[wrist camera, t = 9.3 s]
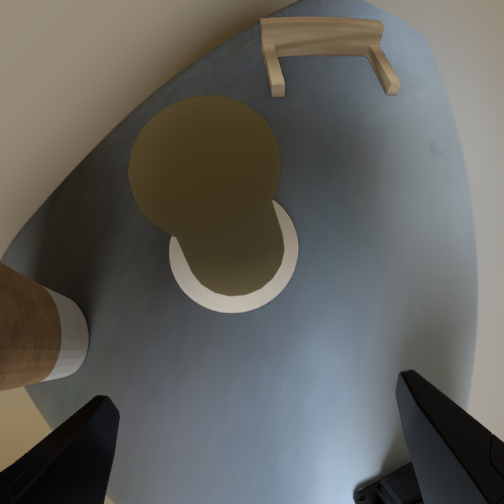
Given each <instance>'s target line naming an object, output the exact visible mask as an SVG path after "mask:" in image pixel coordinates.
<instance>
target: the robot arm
mask: <svg viewBox="0 0 504 504" xmlns="http://www.w3.org/2000/svg"><path fill="white" fill-rule="evenodd" d="M396 399H397V403H398V408H399V413H400V417H401V422H402V427H403V432H404V437H405V441H406V445H407V448H408V451H409V454H410V457H411V460H412V461H411V462H410V463H408V464H406V465H405V466H403V467H401V468H399V469H398V470H396V471H394V472H392V473H390V474H389V475H387V476H385V477H383V478H382V479H381V480H380V481H378V482H376V483H374V484H372V485H370V486H368V487H366V488H364V489H362V490H359V491H358V492H356V493H355V494H354V496H353V500H354V502H355V504H504V442H503V441H501V440H500V439H499V438H498V437H497V436H495V435H494V434H492V433H491V432H490V431H489V430H488V429H486V428H485V427H484V426H483V425H482V424H480V423H479V422H478V421H477V420H475V419H474V418H473V417H472V416H471V415H469V414H468V413H467V412H466V411H464V410H463V409H462V408H461V407H459V406H458V405H457V404H456V403H454V402H453V401H452V400H451V399H449V398H448V397H447V396H446V395H445V394H443V393H442V392H441V391H440V390H438V389H437V388H436V387H435V386H433V385H432V384H431V383H430V382H428V381H427V380H426V379H425V378H423V377H422V376H421V375H420V374H418V373H417V372H416V371H415V370H412V369H410V370H406V371H402V372H400V373H399V375H398V381H397V386H396ZM119 419H120V414H119V411H118V409H117V408H116V406H115V405H114V404H113V402H112V401H111V399H110V398H109V397H108V396H104V395H97V396H95V397H94V398H93V399H92V400H90V401H89V402H88V403H87V404H85V405H84V406H83V407H82V408H81V409H79V410H78V411H77V412H76V413H75V414H73V415H72V416H71V417H70V418H69V419H67V420H66V421H65V422H64V423H62V424H61V425H60V426H59V427H58V428H56V429H55V430H54V431H53V432H51V433H50V434H49V435H48V436H47V437H45V438H44V439H43V440H42V441H40V442H39V443H38V444H37V445H36V446H34V447H33V448H32V449H31V450H29V451H28V453H26V454H24V456H22V457H21V458H20V459H18V460H17V461H16V462H14V463H13V464H12V465H10V466H9V467H7V468H6V469H4V470H3V471H1V472H0V504H104V500H105V495H106V491H107V486H108V481H109V477H110V472H111V468H112V464H113V459H114V455H115V448H116V440H117V433H118V426H119ZM363 495H364V497H363V498H362V499H358V498H359V497H360V496H363Z"/></svg>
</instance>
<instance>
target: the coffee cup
mask: <svg viewBox="0 0 504 504" xmlns="http://www.w3.org/2000/svg"><path fill="white" fill-rule="evenodd" d="M88 344H89V333H88V327H87V323H86V320H85V317H84V315H83V313H82V311H81V310H80V308H79V307H78V306H77V304H76V303H74V302H73V301H72V300H71V299H69V298H67V297H65V296H63V295H61V294H59V293H57V292H55V291H52V290H50V289H48V288H46V287H44V286H42V285H40V284H39V283H37V282H35V281H33V280H31V279H29V278H28V277H26V276H24V275H22V274H20V273H18V272H17V271H15V270H13V269H11V268H10V267H8V266H6V265H4V264H3V263H1V262H0V391H3V390H8V389H13V388H17V387H22V386H27V385H31V384H35V383H38V382H42V381H47V380H52V379H57V378H62V377H66V376H69V375H71V374H73V373H74V372H75V371H77V370H78V369H79V367H80V366H81V365H82V363H83V361H84V359H85V357H86V354H87V351H88Z"/></svg>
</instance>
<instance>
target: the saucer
mask: <svg viewBox="0 0 504 504" xmlns="http://www.w3.org/2000/svg"><path fill="white" fill-rule="evenodd" d="M272 202H273V205H274V208H275V212H276V215H277V218H278V221H279V224H280V227H281V231H282V234H283V241H284V249H285V250H284V255H283V259H282V264H281V266H280V268H279V269H278V271H277V273H276V274H275V276H274V278H273V279H272V280H271V281H269V282H268V283H267V284H266V285H265V286H264V287H262V288H261V289H259V290H257V291H255V292H252V293H250V294H247V295H241V296H226V295H222V294H217V293H214V292H212V291H211V290H209V289H208V288H206V287H204V286H203V285H201V284H200V282H199V281H198V280H197V279H196V277H195V276H194V275H193V274H192V272H191V270H190V268H189V266H188V263H187V261H186V259H185V257H184V254H183V252H182V250H181V248H180V245H179V243H178V241H177V238H176V237H173V236H171V239H170V246H169V259H170V265H171V269H172V272H173V275H174V277H175V279H176V281H177V283H178V284H179V286H180V287H181V289H182V290H183V291H184V292H185V293H186V294H187V295H188V296H189V297H190V298H191V299H192V300H194V301H195V302H197V303H198V304H200V305H202V306H204V307H206V308H208V309H211V310H213V311H217V312H222V313H243V312H248V311H251V310H254V309H257V308H259V307H262V306H264V305H266V304H267V303H269V302H270V301H272V300H273V299H274V298H275V297H276V296H278V295H279V294H280V293H281V292H282V290H283V289H284V288H285V287H286V285H287V284H288V282H289V281H290V279H291V277H292V275H293V273H294V270H295V267H296V263H297V258H298V238H297V234H296V230H295V227H294V225H293V222H292V221H291V219H290V217H289V215H288V214H287V213H286V211H285V210H284V209H283V208H282V207H281V206H280V205H279V204H278V203H277V202H275V201H274V200H273V199H272Z"/></svg>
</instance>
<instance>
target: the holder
mask: <svg viewBox="0 0 504 504" xmlns="http://www.w3.org/2000/svg"><path fill="white" fill-rule="evenodd" d="M260 27H261V46H262V55H263V59H264V64H265V68H266V72H267V77H268V81H269V86H270V90H271V95H272V98H274V97H285V82H284V78H283V75H282V71H281V68H280V64H279V60H278V57H284V56H308V55H346V56H367V58H368V60H369V62H370V64H371V66H372V67H373V69H374V71H375V73H376V75H377V77H378V79H379V81H380V83H381V85H382V87H383V89H384V91H385V93H386V95H397V93H398V90H399V88H400V86H401V82H400V81H399V79H398V77H397V75H396V74H395V72H394V70H393V68H392V67H391V65H390V63H389V62H388V60H387V58H386V57H385V55H384V53H383V52H382V50H381V48H380V47H379V44H380V40H381V37H382V33H383V29H384V25H383V24H382V23H381V21H377V20H368V19H356V18H339V17H279V18H263V19H260Z"/></svg>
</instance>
